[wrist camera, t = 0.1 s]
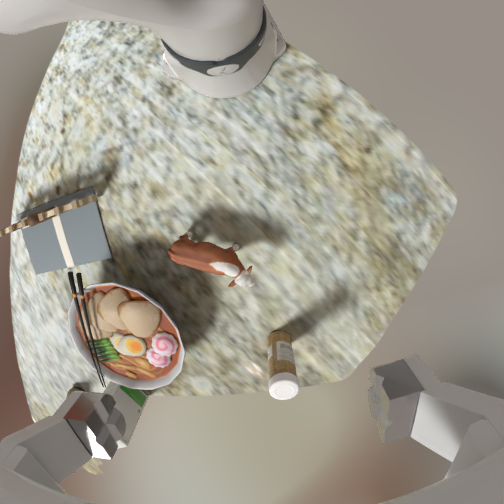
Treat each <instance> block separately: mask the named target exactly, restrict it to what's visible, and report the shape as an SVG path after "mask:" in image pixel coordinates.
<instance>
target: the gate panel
mask: <svg viewBox="0 0 504 504" xmlns="http://www.w3.org/2000/svg"><path fill="white" fill-rule="evenodd" d="M95 201H98V199H97V195H96V194H93V195H90V196H87V197H84V198H81V199H78V200H75V201H72V202H70V203H67V204H64V205H61V206H58V207H56V208H53V209H50V210H48V211H45V212H42V213H40V214H38V217H39V221H42V220H44V219H47V218H49V217H52V216H54V215H55V216H56V215H59V214H61V213H64V212H66V211H69V210H71V209H76V208H79V207H81V206H84V205H87V204H89V203H92V202H95Z"/></svg>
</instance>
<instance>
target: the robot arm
mask: <svg viewBox="0 0 504 504" xmlns="http://www.w3.org/2000/svg"><path fill="white" fill-rule="evenodd" d="M78 20H104V21H114V22H122V23H128V24H134V25H138V26H142V27H146V28H148V29H150V30H152V31H153V32H154V33H156V34H157V35H158V36H159V37H160V38H161V44H162V46H164V47H165V53H163V58H164V72H165V73H166V75H168V76H170V77H172V78H176V79H179V80H182V81H183V82H185V83H186V84H187V85H188V86H189V87H190V88H192V89H193V90H194V91H196V92H198V93H200V94H202V95H205V96H208V97H213V98H230V97H235V96H239V95H242V94H244V93H246V92H248V91H250V90H252V89H253V88H255V87H256V86H257V85H258V84H259V83H260V82H261V81H262V80H263V79H264V78H265V76H266V75H267V73H268V72H269V69H270V67H271V65H272V63H273V62H274V61H275V60H276V59H277V58H279V57H280V56H281V55H282V54H283V53H284V52H285V51H286V43H285V41H284V39H283V37H282V36H281V33H280V32H279V30H278V28H277V26H276V24H275V22H274V20H273V18H272V17H271V15H270V13H269V11H268V10H267V8H266V6H265V4H264V2H263V0H0V32H1V33H5V34H22V33H25V32H28V31H31V30H34V29H37V28H40V27H43V26H47V25H51V24H56V23H61V22H67V21H78ZM277 40H278V41H277ZM369 380H370V383H371V385H372V386H371V387H370V388H369V390H368V402H369V408H370V411H371V414H372V417H373V418H374V419H376V420H378V426H377V429H378V432H379V434H380V436H381V438H382V441H383V443H387V442H390V441H394V440H398V439H401V438H404V437H407V436H411V437H412V438H413V439H415V440H417V441H418V442H420V443H421V444H423V445H424V446H426V447H428V448H429V449H431V450H433V451H434V452H436V453H438V454H439V455H441V456H443V457H444V458H446V459H448V460H449V461H451V462H452V464H451V467H450V468H449V471H448V472H447V474H446V476H445V478H444V480H441V481H439V482H437V483H435V484H432V485H430V486H428V487H425V488H422V489H420V490H417V491H415V492H412V493H409V494H407V495H404V496H401V497H398V498H395V499H392V500H389V501H386V502H383V503H379V504H504V400H502V399H499V398H495V397H492V396H489V395H485V394H482V393H479V392H475V391H472V390H469V389H466V388H463V387H460V386H457V385H454V384H451V383H447V382H444V383H441V382H440V381H439V380H438V378H437V377H436V376H435V375H434V373H433V372H432V371H431V370H430V368H429V367H428V366H427V365H426V363H425V362H424V361H423V360H422V359H421V357H420V356H419V355H417V354H414V355H412V356H409V357H405V358H402V359H401V360H397V361H394V362H390V363H387V364H383V365H379V366H376V367H372V368H370V371H369ZM115 406H116V402H115V400H114V398H113V397H112V395H110V394H106V393H95V392H84V391H73V392H72V393H71V394H70V395H69V396H68V398H67V399H66V400H65V401H64V402H63V404H62V405H61V406H60V407H59V409H58V410H57V411H56V412H55V414H54V415H53V416H48V417H46V418H44V419H42V420H40V421H38V422H36V423H34V424H32V425H30V426H28V427H26V428H24V429H22V430H20V431H17V432H15V433H13V434H11V435H9V436H7V437H5V438H4V439H3V440H2V441H1V442H0V504H95V503H91V502H88V501H85V500H81V499H79V498H76V497H73V496H70V495H67V494H66V492H65V491H64V490H63V489H62V488H61V487H60V486H59V485H58V484H59V483H61V482H62V481H63V480H64V479H66V478H67V477H68V476H70V475H71V474H72V473H74V472H75V471H76V470H77V469H79V468H80V467H81V466H82V465H84V464H85V463H86V462H87V461H89V460H90V459H91V458H92V457H98V458H104V459H110V460H111V459H112V458H113V456H114V454H115V452H116V450H117V448H118V444H117V441H118V440H120V439H121V438H123V436H124V434H125V432H126V422H125V418H124V416H123V414H122V413H121V412H120V411H119V410H118V409H116V408H115Z"/></svg>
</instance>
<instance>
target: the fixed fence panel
mask: <svg viewBox="0 0 504 504" xmlns="http://www.w3.org/2000/svg"><path fill="white" fill-rule="evenodd" d="M26 226H28V223H27V219H25V220H22V221H20V222H18V223H15V224H13V225H11V226H8V227H6V228H4V229H2V230H0V237H1V236H3V235H5V234H8V233H11V232H13V231H15V230H18V229H20V228H23V227H26Z"/></svg>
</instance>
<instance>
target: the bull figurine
mask: <svg viewBox="0 0 504 504" xmlns="http://www.w3.org/2000/svg"><path fill="white" fill-rule="evenodd" d="M192 236H193V232H192V231H189V232H188V233H187V232H185V234H184V235H182V236H180V237H179V238H180V240H177V241H175V242H174V243H173V245H172V247H171V249H168V253H169V254H170V258H171V259H172V260H173V261H174V262H176V263H177V264H181V265H186V266H189V267H191V268H195V269H198V270H202V271H206V272H210V273H214V274H217V275H227V276H230V277H234V278H235V280H234V281H232V282H231V283H230V284H229V286H228V287H233V286H234V285H235V284H238V285H240V286H241V287H247V286H249V287H251V286H253V285H254V284H255V279H254V278H253V277H251V275H250V272H251V270H252V266H250V267H249V268H248V269H247V270H245V268H244V266H243V265H242V263H241V262H240V261H239V259H238V256H237V254H236V253H235V250H239V249H240V245H239V244H235V245H234V244H233V246H232V247H230V248H228V249H223V248H221V247H218V246H216V245H215V244H212V243H210V242H199V243H195V242H194V241H192V240H189V239H188V237H192Z"/></svg>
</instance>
